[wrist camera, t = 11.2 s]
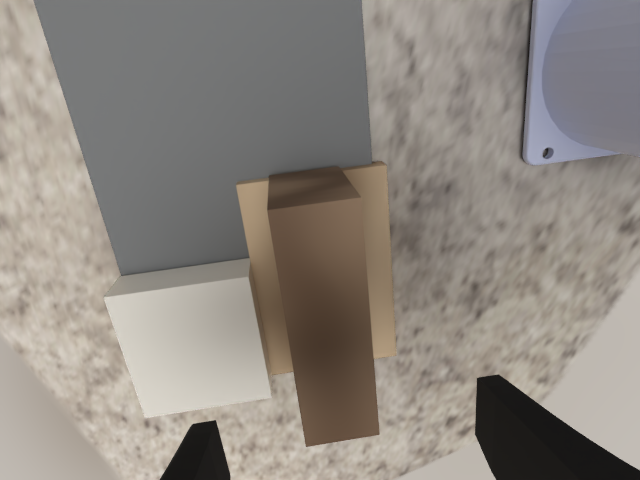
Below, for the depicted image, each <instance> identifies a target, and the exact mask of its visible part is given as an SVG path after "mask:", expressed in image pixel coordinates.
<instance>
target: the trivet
mask: <svg viewBox="0 0 640 480" xmlns="http://www.w3.org/2000/svg"><path fill="white" fill-rule="evenodd" d="M340 169H341V170H342V171H343V173H344V174H345V175H346V177H347V178H348V180H349V181H350V182H351V184H352V185H353V187H354V188H355V189H356V191H357V192H358V194H359V195H360V196H361V200H362V213H363V226H364V239H365V252H366V265H367V278H368V292H369V305H370V318H371V331H372V344H373V357H374V359H377V358H384V357H390V356H396V337H395V318H394V299H393V280H392V261H391V242H390V222H389V203H388V184H387V165H386V164H384V163H383V162H382V161H380V162H372V164H368V165H360V166H353V167H345V168H340ZM268 183H269V178H262V179H254V180H247V181H239V182H237V184H236V188H237V193H238V199H239V204H240V209H241V214H242V220H243V225H244V230H245V236H246V241H247V246H248V251H249V257H250V262H251V267H252V273H253V278H254V283H255V288H256V294H257V299H258V304H259V310H260V315H261V320H262V325H263V331H264V336H265V341H266V347H267V352H268V357H269V362H270V368H271V373H272V375H275V374H282V373H288V372H294V371H293V365H292V359H291V352H290V346H289V340H288V334H287V328H286V322H285V316H284V310H283V304H282V298H281V292H280V286H279V280H278V273H277V267H276V261H275V255H274V249H273V243H272V237H271V231H270V225H269V219H268V213H267V202H268Z"/></svg>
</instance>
